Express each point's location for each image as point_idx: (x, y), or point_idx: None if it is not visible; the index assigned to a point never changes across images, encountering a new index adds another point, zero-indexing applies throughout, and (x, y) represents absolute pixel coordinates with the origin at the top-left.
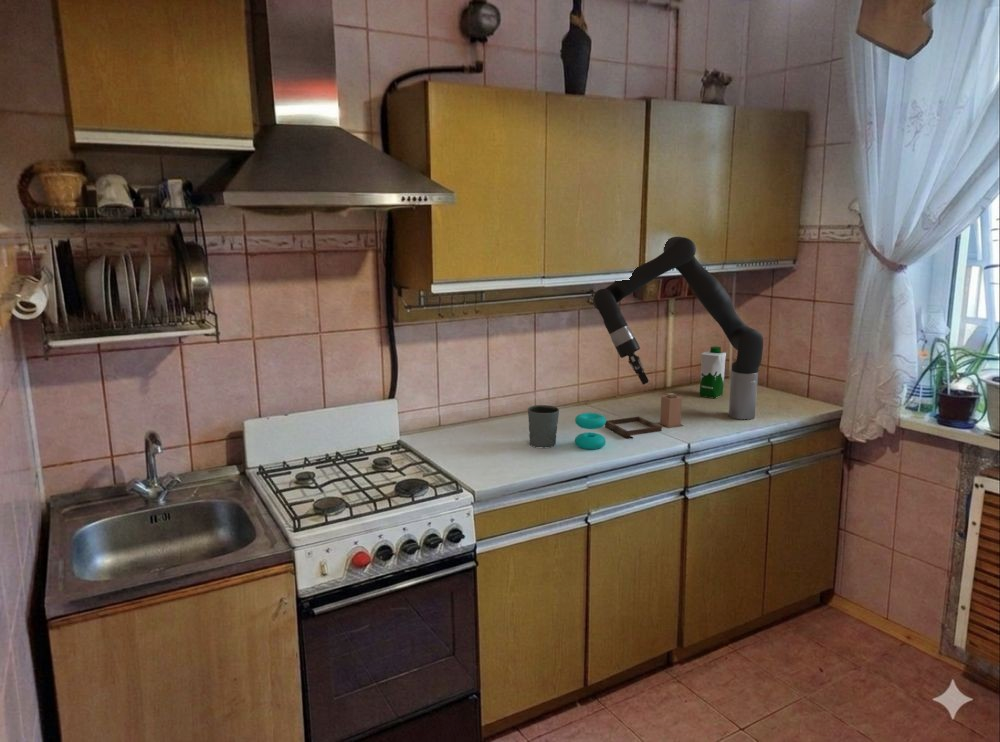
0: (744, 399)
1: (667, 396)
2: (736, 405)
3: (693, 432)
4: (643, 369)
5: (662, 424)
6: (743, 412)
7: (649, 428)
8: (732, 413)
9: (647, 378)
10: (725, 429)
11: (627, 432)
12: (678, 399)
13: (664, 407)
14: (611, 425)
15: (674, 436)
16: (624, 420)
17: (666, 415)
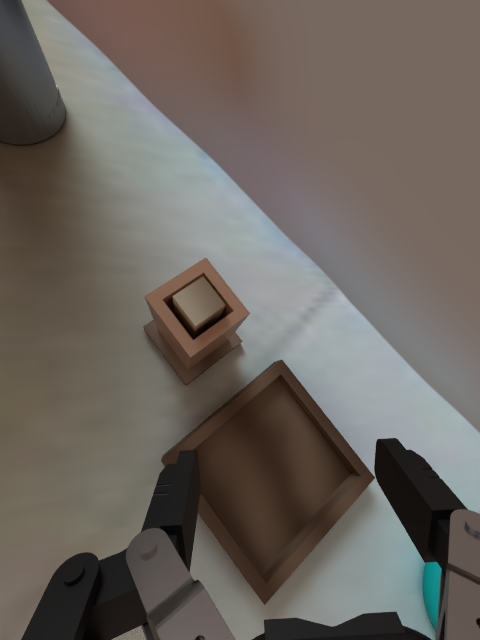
0: (33, 38)
1: (201, 324)
2: (35, 87)
3: (234, 267)
4: (151, 552)
5: (201, 360)
6: (55, 92)
7: (310, 400)
8: (38, 127)
9: (192, 465)
10: (181, 179)
11: (371, 474)
12: (216, 275)
13: (211, 346)
14: (300, 558)
15: (289, 322)
16: (218, 515)
17: (222, 341)
